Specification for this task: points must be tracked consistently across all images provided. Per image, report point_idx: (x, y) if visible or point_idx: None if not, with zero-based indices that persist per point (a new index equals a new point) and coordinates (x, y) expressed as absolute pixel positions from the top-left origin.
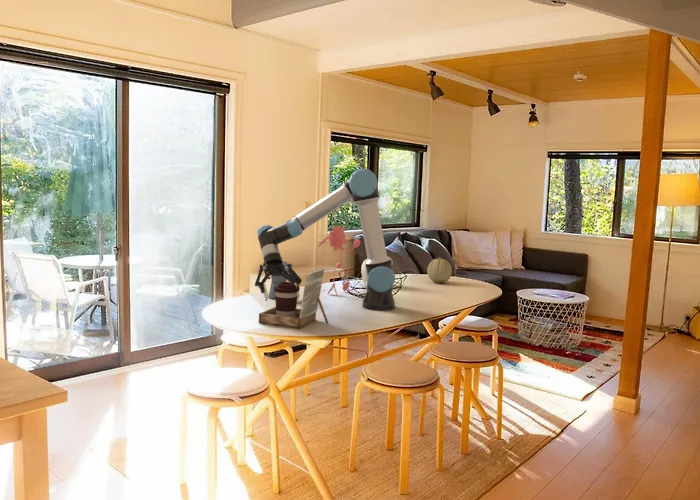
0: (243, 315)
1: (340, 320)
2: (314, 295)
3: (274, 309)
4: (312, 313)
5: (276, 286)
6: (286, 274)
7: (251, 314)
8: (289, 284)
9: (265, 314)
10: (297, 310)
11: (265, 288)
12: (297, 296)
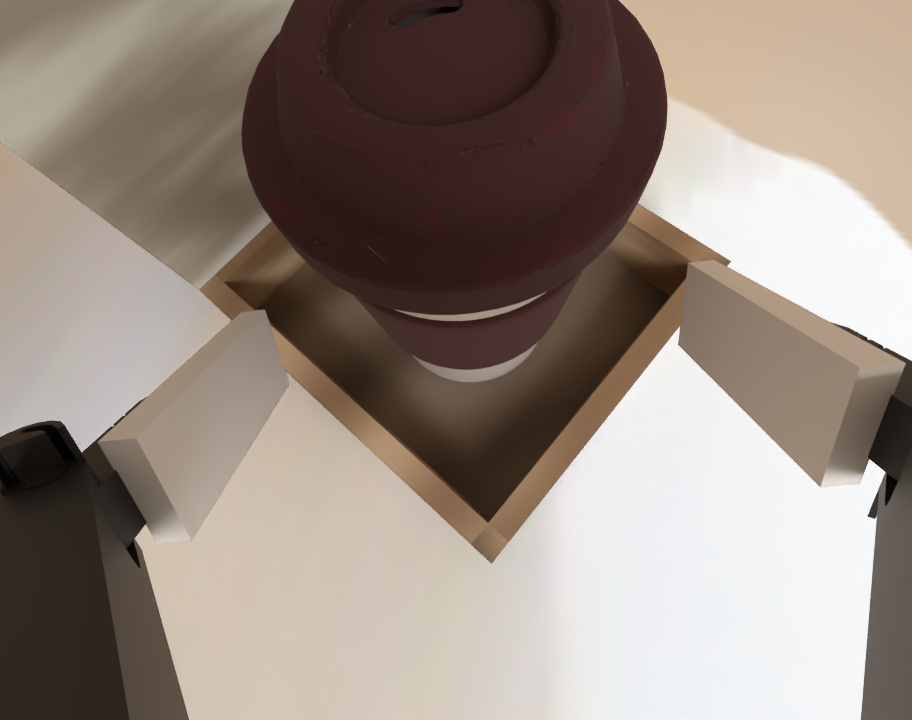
0: (823, 613)
1: (75, 286)
2: (157, 33)
3: (541, 456)
4: (256, 233)
5: (617, 164)
6: (109, 707)
7: (737, 641)
8: (373, 90)
9: (672, 226)
10: (330, 378)
11: (799, 315)
12: (271, 334)
